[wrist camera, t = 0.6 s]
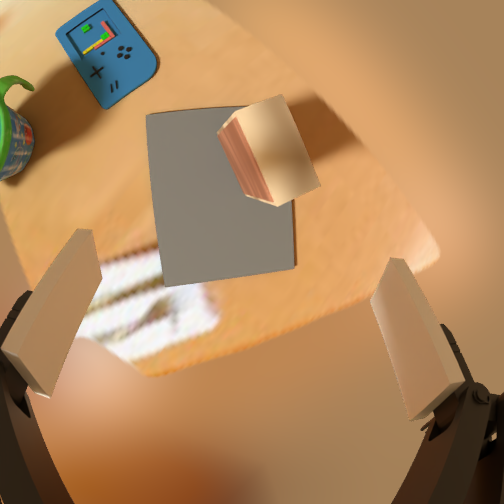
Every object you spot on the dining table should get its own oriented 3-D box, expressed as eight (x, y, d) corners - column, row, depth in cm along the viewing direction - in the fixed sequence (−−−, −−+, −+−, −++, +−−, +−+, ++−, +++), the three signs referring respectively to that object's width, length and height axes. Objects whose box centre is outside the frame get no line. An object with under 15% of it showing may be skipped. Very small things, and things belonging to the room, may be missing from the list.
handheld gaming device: (103, 110, 28) (52, 31, 24) (105, 111, 30) (55, 34, 25) (164, 67, 29) (107, -7, 24) (164, 70, 30) (109, -3, 25)
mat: (146, 116, 30) (145, 115, 30) (283, 107, 34) (284, 106, 33) (165, 285, 36) (165, 287, 35) (292, 267, 39) (294, 268, 38)
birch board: (244, 196, 35) (276, 207, 23) (215, 133, 32) (233, 111, 21) (276, 181, 35) (320, 186, 24) (248, 119, 33) (282, 94, 21)
